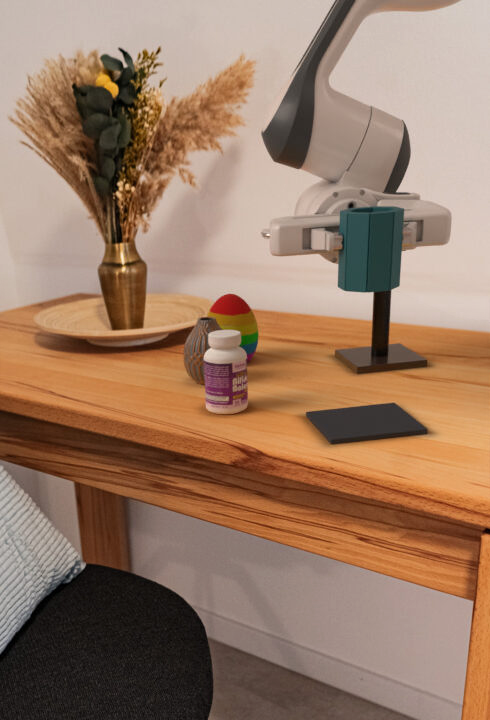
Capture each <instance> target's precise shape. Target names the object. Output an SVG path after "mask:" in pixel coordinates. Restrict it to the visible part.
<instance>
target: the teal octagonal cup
mask: <svg viewBox="0 0 490 720" xmlns="http://www.w3.org/2000/svg"><path fill="white" fill-rule="evenodd" d="M403 222H404V208H399V207H394V206H374V207H373V206H371V207H359V208H349V209H346V210H342V211H340V225H339V232H340V233H342V234H343V241H342V244H343V250H342V251H339V259H338V264H337V288H339V290H342V291H344V292H352V293H364V294H365V293H367V294H369V293H373V292H380V291H389V290H391V291H392V290H394V289H397V288H399V287H400V285H401V272H402V271H401V270H402V269H401V268H402V252H403V251H402V238H403Z"/></svg>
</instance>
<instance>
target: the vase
mask: <svg viewBox="0 0 490 720" xmlns="http://www.w3.org/2000/svg"><path fill="white" fill-rule="evenodd" d="M218 330H222V328H221V327H220V326H219V325H218V323H217V321H216V319H215V318H214V317H207V316H201V317H199V318H198V319H197V321H196V323H195V325H194V327H193V329H192V330H191V331H190V333H189V335H188V336H187V338H186V340H185V342H184V346H183V352H182V357H183V365H184V369H185V372H186V374H187V376H189V378H190V379H191V380H192V381H193V382H194V383H196V384H198V385H205V376H204V354H205V353H206V351H207V350H208V349H210V348H211V347H210V346H209V344H208V334H209V333H211V332H214V331H218Z"/></svg>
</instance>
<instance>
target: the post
mask: <svg viewBox="0 0 490 720" xmlns="http://www.w3.org/2000/svg"><path fill="white" fill-rule="evenodd" d="M372 293H373V294H372V295H373V296H372V316H371V317H372V322H371V345H368V346H359V347H349V348H338V349H334V357H335V358H336V359H337V360H339V361H340V362H341V363H343V364H344V365H345V366H347V367H348V369H350V370H352V371H353V372H354V373H355V374H357V375H358V374H369V373H379V372H380V373H381V372H388V371H399V370H409V369H419V368H426V367H428V359H427V358H425V357H423V356H422V355H421V354H418V352H416V351H413V350H412V349H410V348H409V347H407V346H406V345H404V344H402V343H400V342H398V343H390V328H391V307H392V305H391V304H392V290H389V291H380V292H372Z"/></svg>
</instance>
